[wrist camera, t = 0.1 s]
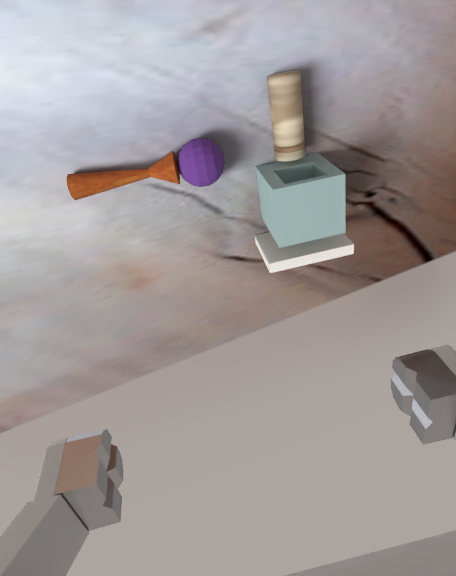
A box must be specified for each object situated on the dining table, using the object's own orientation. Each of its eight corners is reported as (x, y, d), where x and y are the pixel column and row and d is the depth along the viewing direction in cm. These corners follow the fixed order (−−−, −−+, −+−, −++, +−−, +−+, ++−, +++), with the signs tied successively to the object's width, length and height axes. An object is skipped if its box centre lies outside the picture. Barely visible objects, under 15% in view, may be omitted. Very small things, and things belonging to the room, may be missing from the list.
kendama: (57, 166, 49) (220, 135, 48) (72, 161, 54) (218, 133, 54) (73, 214, 51) (228, 185, 51) (85, 205, 57) (226, 178, 56)
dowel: (263, 75, 51) (271, 79, 47) (294, 69, 51) (305, 71, 47) (271, 155, 56) (279, 163, 53) (300, 149, 56) (310, 157, 53)
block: (255, 166, 57) (273, 189, 48) (317, 152, 57) (345, 173, 49) (262, 218, 61) (279, 247, 53) (319, 205, 61) (345, 232, 53)
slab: (254, 235, 62) (268, 263, 55) (329, 218, 63) (353, 244, 55) (255, 243, 63) (270, 273, 56) (329, 226, 64) (353, 253, 56)
